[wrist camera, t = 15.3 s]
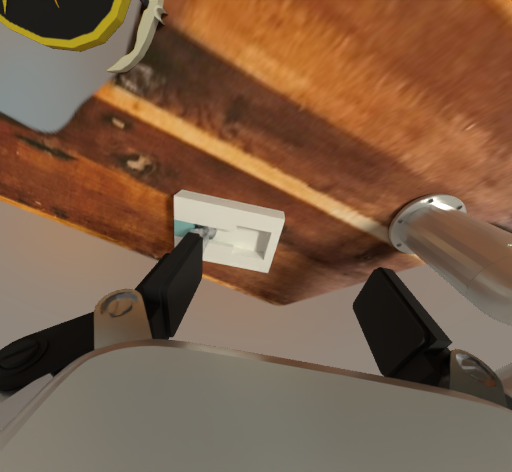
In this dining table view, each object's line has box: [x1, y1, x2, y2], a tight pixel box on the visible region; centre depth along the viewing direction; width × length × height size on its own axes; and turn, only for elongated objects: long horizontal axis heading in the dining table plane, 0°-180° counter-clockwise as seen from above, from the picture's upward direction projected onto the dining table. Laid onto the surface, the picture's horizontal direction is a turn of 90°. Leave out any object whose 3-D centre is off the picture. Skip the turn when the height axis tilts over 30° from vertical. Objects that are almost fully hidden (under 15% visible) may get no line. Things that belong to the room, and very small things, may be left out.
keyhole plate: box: [174, 190, 285, 273], centre depth 38 cm, size 20×13×4 cm, turn 78°
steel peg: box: [189, 224, 217, 253], centre depth 34 cm, size 5×5×10 cm
